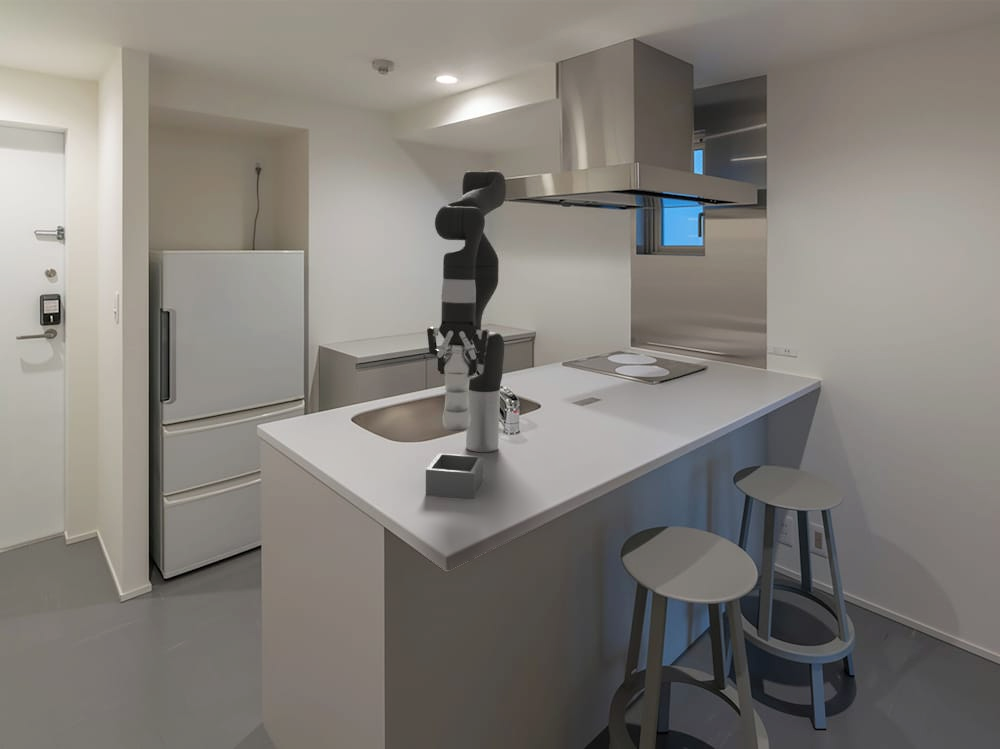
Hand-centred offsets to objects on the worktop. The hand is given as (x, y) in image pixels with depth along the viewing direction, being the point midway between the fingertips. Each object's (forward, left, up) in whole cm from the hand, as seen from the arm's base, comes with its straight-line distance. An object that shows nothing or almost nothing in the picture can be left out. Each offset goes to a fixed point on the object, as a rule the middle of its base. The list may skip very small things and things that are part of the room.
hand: (457, 374), depth 134 cm
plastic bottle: (0, 0, -13) cm, 13 cm away
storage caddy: (0, 0, -27) cm, 27 cm away
